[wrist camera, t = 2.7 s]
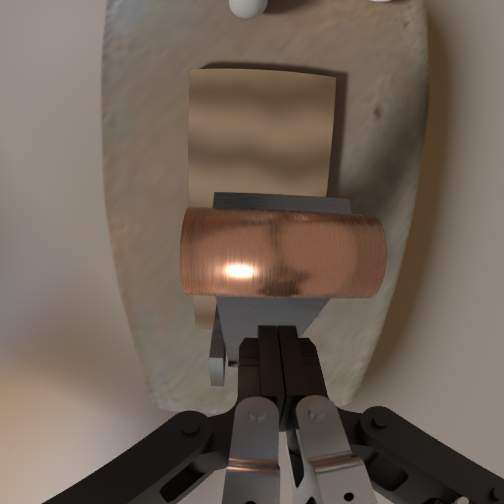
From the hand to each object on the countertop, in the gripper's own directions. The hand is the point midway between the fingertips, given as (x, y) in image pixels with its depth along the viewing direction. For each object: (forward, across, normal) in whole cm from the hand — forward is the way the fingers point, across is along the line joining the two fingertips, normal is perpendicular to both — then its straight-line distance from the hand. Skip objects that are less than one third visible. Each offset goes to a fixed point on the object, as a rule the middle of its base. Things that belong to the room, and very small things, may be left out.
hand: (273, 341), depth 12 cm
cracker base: (+23, 0, +2) cm, 23 cm away
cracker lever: (+10, 0, +2) cm, 10 cm away
